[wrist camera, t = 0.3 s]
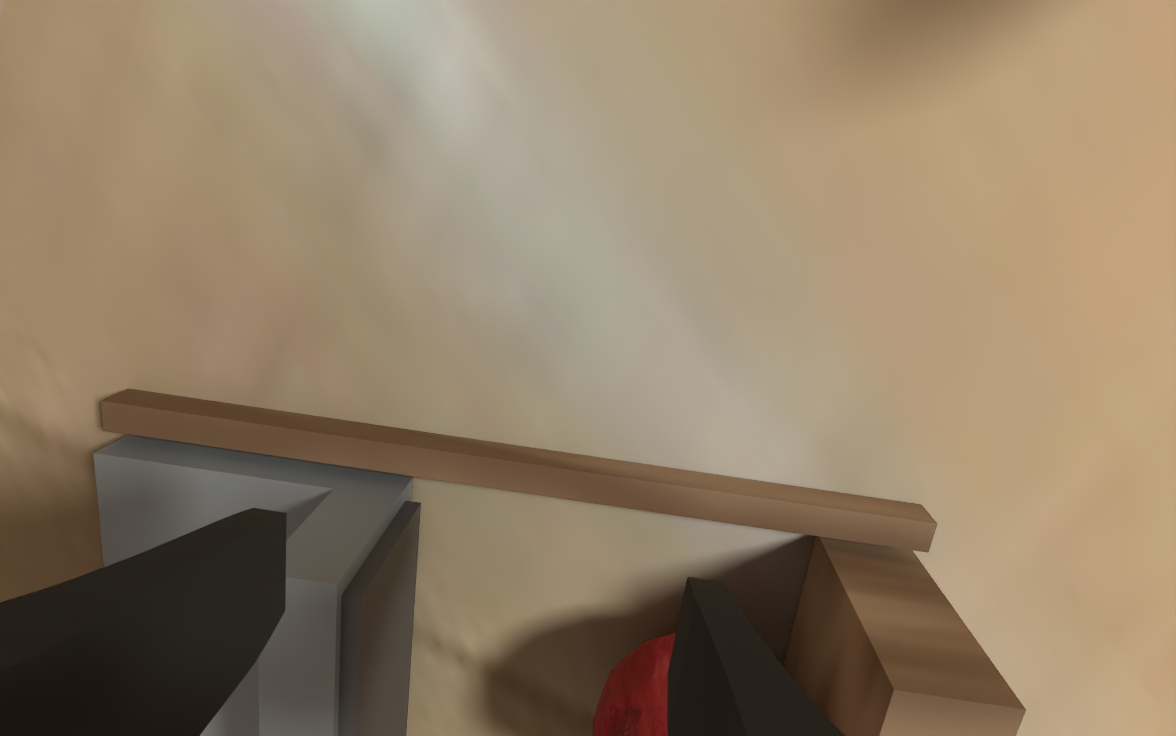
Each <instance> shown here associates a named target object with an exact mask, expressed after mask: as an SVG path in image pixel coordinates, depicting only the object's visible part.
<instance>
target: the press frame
mask: <svg viewBox="0 0 1176 736" xmlns="http://www.w3.org/2000/svg"><path fill="white" fill-rule="evenodd" d="M101 411H102V423H103V431H110V432H117V433H124V434H130V435H137V436H144V437H151V438H157V439H164V440H171V441H178V442H184V443H191V444H198V445H205V446H211V447H218V448H225V449H232V450H238V451H245V452H252V453H259V454H266V455H272V456H279V457H286V458H293V459H299V460H306V461H313V462H320V463H326V464H333V465H340V466H347V467H353V468H360V469H367V470H374V471H381V472H387V473H394V474H401V475H408V476H414V477H421V478H428V479H435V480H441V481H448V482H455V483H462V484H468V485H475V486H482V487H489V488H496V489H502V490H509V491H516V492H523V493H529V494H536V495H543V496H550V497H556V498H563V499H570V500H577V501H583V502H590V503H597V504H604V505H610V506H617V507H624V508H631V509H638V510H644V511H651V512H658V513H665V514H671V515H678V516H685V517H692V518H698V519H705V520H712V521H719V522H725V523H732V524H739V525H746V526H753V527H759V528H766V529H773V530H780V531H786V532H793V533H800V534H807V535H813V536H816V538H815V542H814V546H813V550H812V554H811V557H810V561H809V565H808V569H807V573H806V577H805V581H804V585H803V589H802V593H801V596H800V600H799V604H798V608H797V612H796V616H795V620H794V624H793V628H792V631H791V635H790V639H789V643H788V647H787V651H786V655H785V659H784V663H783V667H784V668H785V670H786V671H787V672H788V673H789V675H790V676H791V677H792V678H793V679H794V681H795V682H796V683H797V684H798V685H799V686H800V688H801V689H802V690H803V691H804V692H805V693H806V694H807V696H808V697H809V698H810V699H811V700H812V701H813V703H814V704H815V705H816V706H817V707H818V708H819V709H820V710H821V711H822V712H823V714H824V715H825V716H826V717H827V718H828V719H829V720H830V721H831V722H832V723H833V724H834V725H835V726H836V727H837V728H838V729H839V730H840V731H841V732H842V733H843V734H844V735H845V736H1016V734H1017V731H1018V729H1019V726H1020V724H1021V721H1022V719H1023V716H1024V714H1025V711H1026V709H1025V708H1024V706H1023V705H1022V704H1021V702H1020V701H1019V699H1018V698H1017V697H1016V695H1015V694H1014V692H1013V691H1012V690H1011V688H1010V687H1009V685H1008V684H1007V683H1006V681H1005V680H1004V678H1003V677H1002V676H1001V674H1000V673H999V671H998V670H997V669H996V667H995V666H994V664H993V663H992V661H991V660H990V659H989V657H988V656H987V654H986V653H985V652H984V650H983V649H982V647H981V646H980V645H979V643H978V642H977V640H976V639H975V638H974V636H973V635H972V633H971V632H970V631H969V629H968V628H967V626H966V625H965V624H964V622H963V621H962V619H961V618H960V617H959V615H958V614H957V612H956V611H955V610H954V608H953V607H952V605H951V604H950V602H949V601H948V600H947V598H946V597H945V595H944V594H943V593H942V591H941V590H940V588H939V587H938V586H937V584H936V583H935V581H934V580H933V579H932V577H931V576H930V574H929V573H928V572H927V570H926V569H925V567H924V566H923V565H922V563H921V562H920V560H919V559H918V558H917V556H916V555H915V553H914V552H913V551H912V550H915V551H922V552H929V549H930V546H931V542H932V539H933V536H934V533H935V530H936V527H937V523H936V521H935V520H934V519H933V518H932V517H931V515H930V514H929V513H928V512H927V511H926V509H925V508H924V507H923V506H922V505H920V504H913V503H906V502H899V501H892V500H886V499H879V498H872V497H865V496H858V495H851V494H845V493H838V492H831V491H824V490H817V489H810V488H803V487H797V486H790V485H783V484H776V483H769V482H762V481H756V480H749V479H742V478H735V477H728V476H721V475H715V474H708V473H701V472H694V471H687V470H680V469H673V468H667V467H660V466H653V465H646V464H639V463H632V462H626V461H619V460H612V459H605V458H598V457H591V456H584V455H578V454H571V453H564V452H557V451H550V450H543V449H537V448H530V447H523V446H516V445H509V444H502V443H495V442H489V441H482V440H475V439H468V438H461V437H454V436H448V435H441V434H434V433H427V432H420V431H413V430H407V429H400V428H393V427H386V426H379V425H372V424H365V423H359V422H352V421H345V420H338V419H331V418H324V417H318V416H311V415H304V414H297V413H290V412H283V411H276V410H270V409H263V408H256V407H249V406H242V405H235V404H229V403H222V402H215V401H208V400H201V399H194V398H188V397H181V396H174V395H167V394H160V393H153V392H146V391H140V390H133V389H126V390H124V391H122V392H119V393H117V394H115V395H113V396H110V397H108V398H106V399H104V400H102V401H101Z"/></svg>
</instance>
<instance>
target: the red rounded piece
mask: <svg viewBox="0 0 1176 736" xmlns="http://www.w3.org/2000/svg"><path fill="white" fill-rule="evenodd" d="M675 635H676V633H673V634H669V635H665V636H662V637H658V638H654V639H651V640H647V641H644V642H643V643H642V644H640V645H639V646H638V647H637V648H636V649H634V650H633V651H632V652H631V653H630V654H628V655H627V656H626V657H625V658H624V659H622V660H621V661H620V662H619V663H618V664H617V666H616V667H615V668H614V669H613V670H612V671H611V672H610V674H609V676H608V679H607V682H606V684H605V687H604V690H603V692H602V695H601V697H600V700H599V703H598V706H597V709H596V713H595V716H594V719H593V736H668V728H667V684H668V668H669V664H670V659H671V654H672V649H673V645H674V640H675Z"/></svg>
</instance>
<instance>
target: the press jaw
mask: <svg viewBox="0 0 1176 736" xmlns="http://www.w3.org/2000/svg"><path fill="white" fill-rule="evenodd" d="M93 456H94V467H95V478H96V489H97V500H98V511H99V522H100V533H101V544H102V555H103V566H104V567H106V566H109V565H111V564H114V563H116V562H119V561H122V560H124V559H127V558H130V557H132V556H135V555H137V554H140V553H142V552H145V551H147V550H149V549H152V548H154V547H157V546H159V545H161V544H164V543H166V542H169V541H171V540H173V539H176V538H178V537H180V536H183V535H185V534H188V533H190V532H192V531H195V530H197V529H199V528H202V527H204V526H206V525H209V524H211V523H214V522H216V521H218V520H221V519H223V518H226V517H228V516H231V515H233V514H236V513H239V512H241V511H245V510H248V509H251V508H259V509H265V510H271V511H278V512H284V513H287V521H286V601H285V612H284V614H283V616H282V618H281V619H280V621H279V623H278V625H277V627H276V628H275V630H274V632H273V634H272V635H271V637H270V639H269V641H268V642H267V644H266V646H265V647H264V649H263V651H262V652H261V654H260V656H259V657H258V659H257V661H256V662H255V663H254V665H253V666H252V668H251V669H250V670H249V672H248V673H247V674H246V676H245V677H244V678H243V680H242V681H241V682H240V684H239V685H238V686H237V688H236V689H235V690H234V692H233V693H232V694H231V695H230V697H229V698H228V699H227V701H226V702H225V703H224V705H223V706H222V707H221V709H220V710H219V711H218V712H217V714H216V715H215V716H214V718H213V719H212V720H211V721H210V723H209V724H208V725H207V727H206V728H205V729H204V731H203V732H202V733H201V734H200V736H406V729H407V713H408V698H409V682H410V666H411V650H412V635H413V619H414V603H415V588H416V572H417V556H418V540H419V525H420V509H421V503H418V502H412V487H413V477H410V476H403V475H397V474H390V473H383V472H376V471H370V470H363V469H356V468H349V467H343V466H336V465H329V464H322V463H316V462H309V461H302V460H295V459H288V458H282V457H275V456H268V455H261V454H255V453H248V452H241V451H234V450H228V449H221V448H214V447H207V446H201V445H194V444H187V443H180V442H174V441H167V440H160V439H153V438H146V437H140V436H133V435H126V436H124V437H122V438H120V439H118V440H117V441H115V442H113V443H111V444H109V445H107V446H105V447H104V448H102V449H100V450H98V451H96V452H94V453H93Z"/></svg>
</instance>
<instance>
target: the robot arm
mask: <svg viewBox="0 0 1176 736" xmlns="http://www.w3.org/2000/svg"><path fill="white" fill-rule="evenodd" d="M286 521H287V513H284V512H278V511H271V510H265V509H259V508H251V509H248V510H245V511H241V512H239V513H236V514H233V515H231V516H228V517H226V518H223V519H221V520H218V521H216V522H214V523H211V524H209V525H206V526H204V527H202V528H199V529H197V530H195V531H192V532H190V533H188V534H185V535H183V536H180V537H178V538H176V539H173V540H171V541H169V542H166V543H164V544H161V545H159V546H157V547H154V548H152V549H149V550H147V551H145V552H142V553H140V554H137V555H135V556H132V557H130V558H127V559H124V560H122V561H119V562H116V563H114V564H111V565H109V566H106V567H103V568H101V569H98V570H96V571H93V572H90V573H88V574H85V575H82V576H80V577H77V578H75V579H72V580H69V581H66V582H63V583H60V584H58V585H55V586H52V587H49V588H46V589H42V590H39V591H36V592H33V593H30V594H27V595H23V596H20V597H17V598H14V599H10V600H7V601H4V602H1V603H0V736H200V734H201V733H202V732H203V731H204V729H205V728H206V727H207V725H208V724H209V723H210V721H211V720H212V719H213V718H214V716H215V715H216V714H217V712H218V711H219V710H220V709H221V707H222V706H223V705H224V703H225V702H226V701H227V699H228V698H229V697H230V695H231V694H232V693H233V692H234V690H235V689H236V688H237V686H238V685H239V684H240V682H241V681H242V680H243V678H244V677H245V676H246V674H247V673H248V672H249V670H250V669H251V668H252V666H253V665H254V663H255V662H256V661H257V659H258V657H259V656H260V654H261V652H262V651H263V649H264V647H265V646H266V644H267V642H268V641H269V639H270V637H271V635H272V634H273V632H274V630H275V628H276V627H277V625H278V623H279V621H280V619H281V618H282V616H283V614H284V612H285V601H286ZM667 728H668V736H845V735H844V734H843V733H842V732H841V731H840V730H839V729H838V728H837V727H836V726H835V725H834V724H833V723H832V722H831V721H830V720H829V719H828V718H827V717H826V716H825V715H824V714H823V712H822V711H821V710H820V709H819V708H818V707H817V706H816V705H815V704H814V703H813V701H812V700H811V699H810V698H809V697H808V696H807V694H806V693H805V692H804V691H803V690H802V689H801V688H800V686H799V685H798V684H797V683H796V682H795V681H794V679H793V678H792V677H791V676H790V675H789V673H788V672H787V671H786V670H785V668H784V667H783V666H782V665H781V663H780V662H779V661H778V660H777V658H776V657H775V656H774V654H773V653H772V652H771V650H770V649H769V648H768V646H767V645H766V644H765V642H764V641H763V640H762V638H761V637H760V635H759V634H758V633H757V631H756V630H755V628H754V627H753V626H752V624H751V623H750V621H749V620H748V619H747V617H746V616H745V614H744V613H743V611H742V610H741V608H740V607H739V606H738V604H737V603H736V601H735V600H734V598H733V597H732V595H731V594H730V593H729V591H728V590H727V588H726V587H725V586H724V584H723V583H722V582H717V581H711V580H704V579H698V578H692V577H688V578H687V582H686V587H685V592H684V597H683V602H682V606H681V611H680V616H679V621H678V625H677V630H676V635H675V640H674V645H673V649H672V654H671V659H670V664H669V668H668V684H667Z"/></svg>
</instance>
